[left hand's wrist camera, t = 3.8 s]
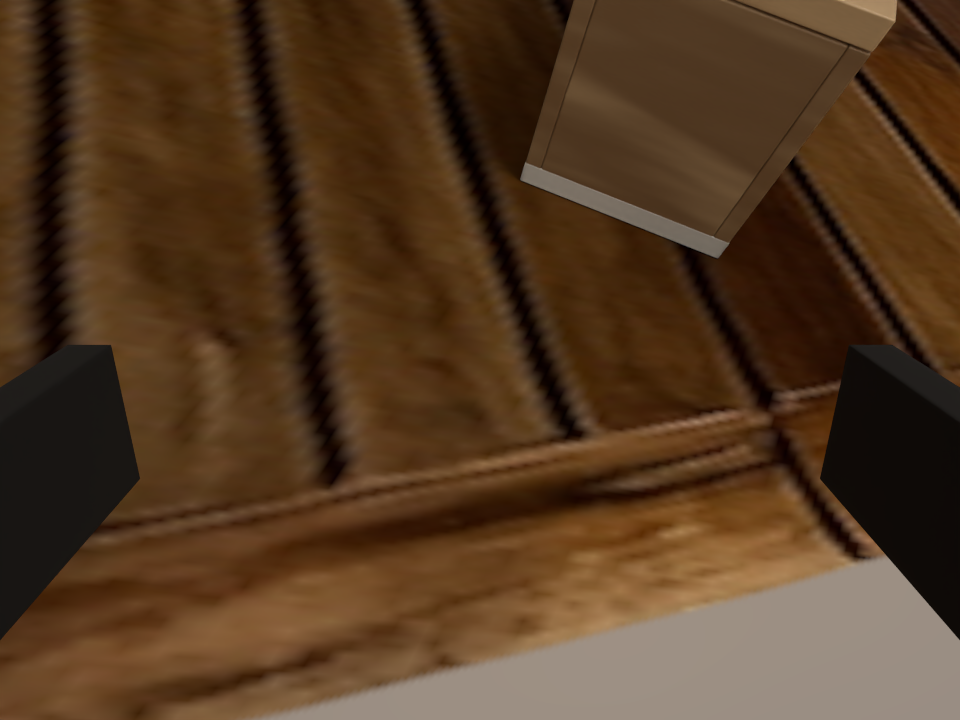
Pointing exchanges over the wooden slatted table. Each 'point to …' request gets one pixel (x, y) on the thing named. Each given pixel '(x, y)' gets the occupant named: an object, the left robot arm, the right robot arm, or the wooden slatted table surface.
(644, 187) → the chest
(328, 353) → the wooden slatted table surface
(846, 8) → the lid
